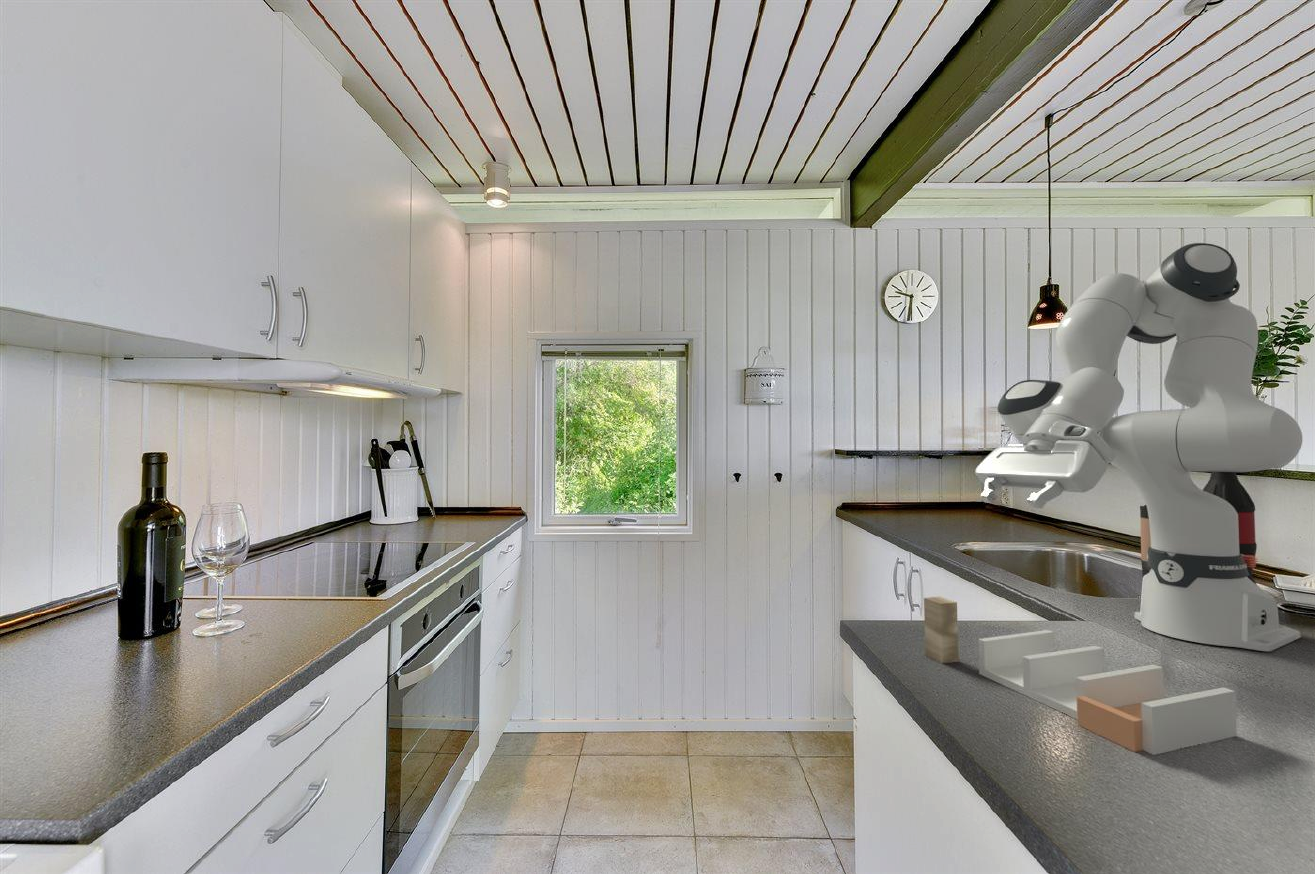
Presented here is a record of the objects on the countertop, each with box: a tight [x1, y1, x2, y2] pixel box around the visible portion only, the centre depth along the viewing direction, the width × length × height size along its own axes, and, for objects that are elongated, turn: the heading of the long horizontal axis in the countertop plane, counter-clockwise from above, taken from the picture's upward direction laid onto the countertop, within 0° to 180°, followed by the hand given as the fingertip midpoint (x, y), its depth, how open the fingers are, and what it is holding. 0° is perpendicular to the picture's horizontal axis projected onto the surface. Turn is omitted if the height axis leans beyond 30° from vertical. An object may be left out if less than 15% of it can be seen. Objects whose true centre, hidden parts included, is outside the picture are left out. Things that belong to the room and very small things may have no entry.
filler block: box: [923, 596, 960, 664], centre depth 85 cm, size 3×4×9 cm
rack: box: [977, 629, 1238, 756], centre depth 70 cm, size 14×22×5 cm, turn 16°
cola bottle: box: [1202, 472, 1258, 586], centre depth 112 cm, size 8×8×30 cm
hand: (1008, 502), depth 91 cm, fingers open, 8 cm apart
